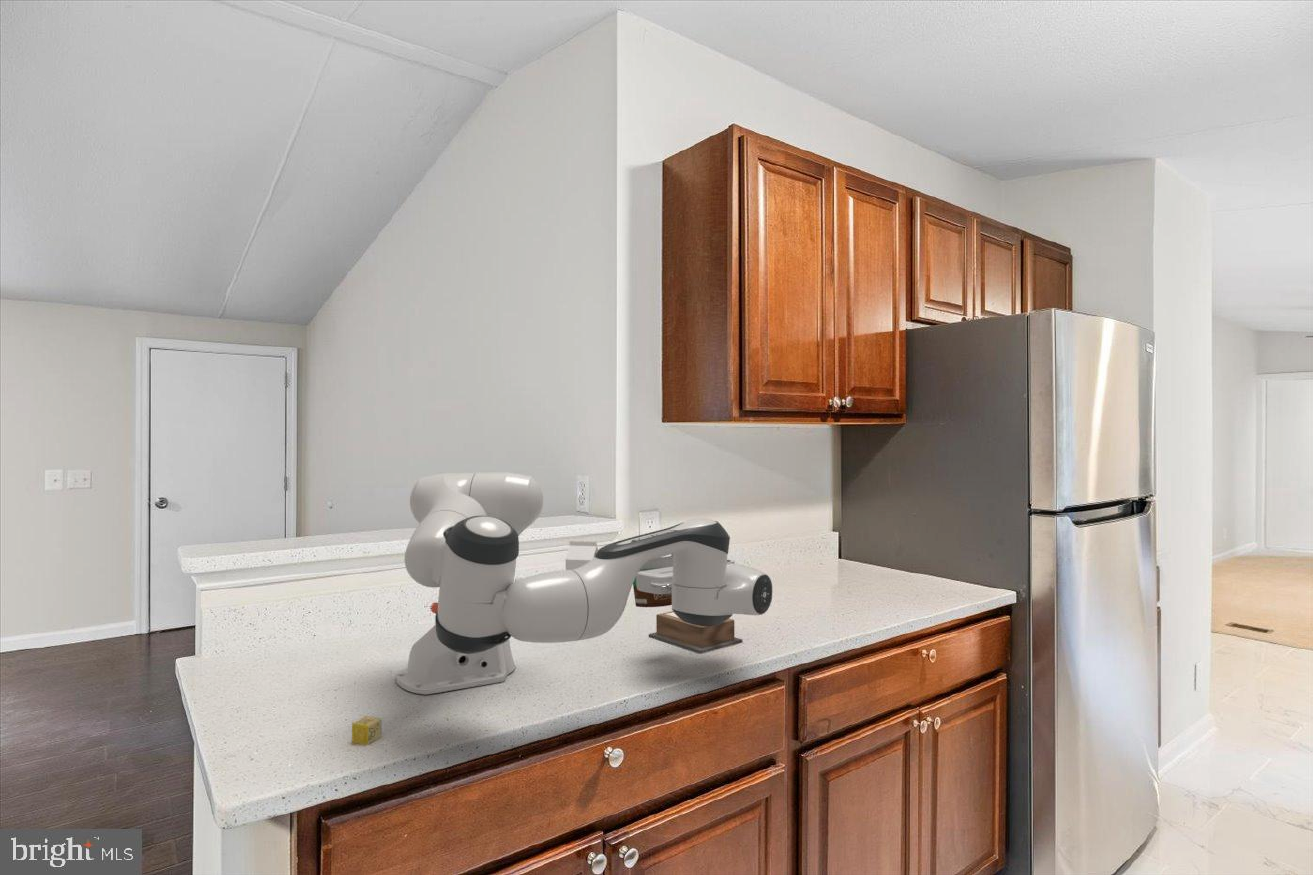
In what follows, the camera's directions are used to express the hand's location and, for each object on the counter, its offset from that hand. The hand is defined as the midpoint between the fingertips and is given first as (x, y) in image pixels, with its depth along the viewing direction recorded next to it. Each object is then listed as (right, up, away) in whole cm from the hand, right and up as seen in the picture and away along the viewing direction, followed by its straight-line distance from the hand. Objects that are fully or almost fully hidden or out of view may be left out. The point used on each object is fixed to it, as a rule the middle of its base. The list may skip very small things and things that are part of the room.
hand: (658, 571), depth 155 cm
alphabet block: (-45, -19, -41) cm, 63 cm away
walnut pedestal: (+8, -18, +13) cm, 23 cm away
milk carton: (-19, -18, +34) cm, 43 cm away
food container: (+1, -7, -1) cm, 7 cm away
